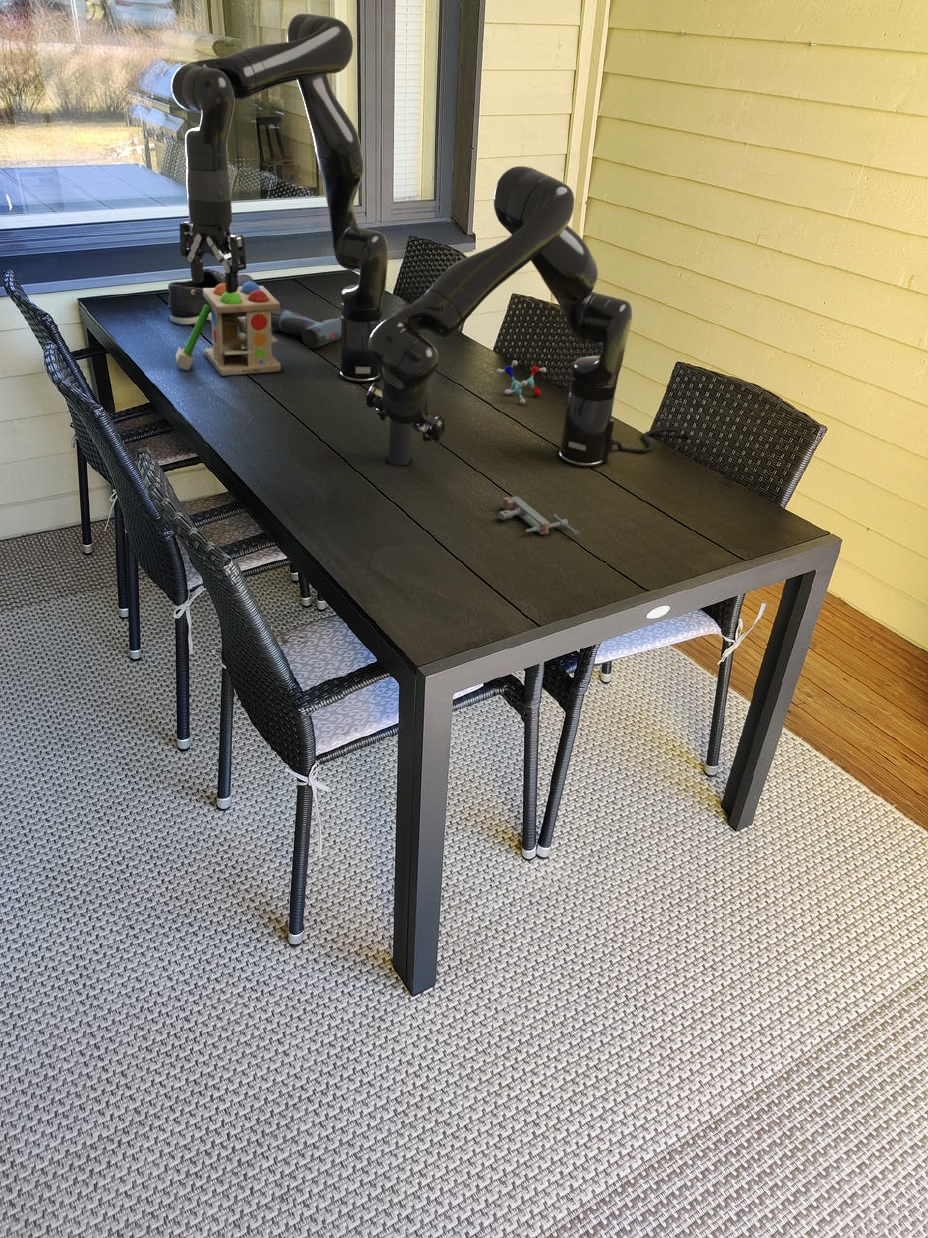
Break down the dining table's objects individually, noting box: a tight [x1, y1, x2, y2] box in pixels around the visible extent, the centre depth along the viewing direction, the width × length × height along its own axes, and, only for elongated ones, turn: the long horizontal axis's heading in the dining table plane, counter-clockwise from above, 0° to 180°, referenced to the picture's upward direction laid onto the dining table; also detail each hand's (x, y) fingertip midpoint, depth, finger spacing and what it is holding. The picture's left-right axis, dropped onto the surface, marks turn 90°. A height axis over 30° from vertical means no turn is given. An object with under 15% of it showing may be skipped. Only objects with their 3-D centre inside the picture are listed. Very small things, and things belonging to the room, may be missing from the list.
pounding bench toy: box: [174, 282, 282, 377], centre depth 225 cm, size 23×14×18 cm, turn 116°
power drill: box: [271, 308, 341, 349], centre depth 252 cm, size 5×19×20 cm
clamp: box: [498, 496, 580, 537], centre depth 177 cm, size 15×2×10 cm
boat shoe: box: [167, 268, 256, 325], centre depth 261 cm, size 13×33×10 cm, turn 147°
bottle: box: [388, 418, 412, 466], centre depth 190 cm, size 4×4×20 cm
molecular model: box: [496, 360, 547, 405], centre depth 227 cm, size 12×10×10 cm
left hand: (214, 287), depth 183 cm, fingers open, 8 cm apart
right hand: (406, 426), depth 176 cm, fingers open, 8 cm apart
